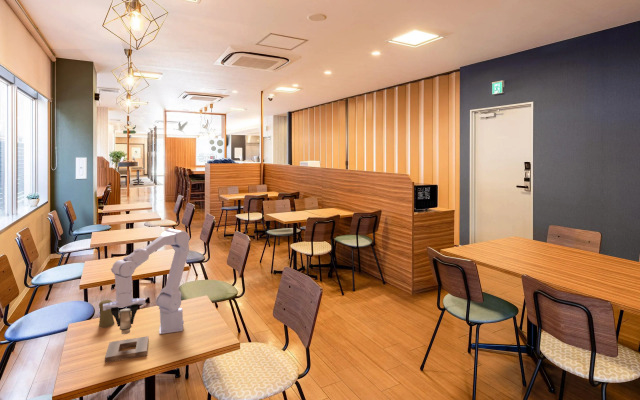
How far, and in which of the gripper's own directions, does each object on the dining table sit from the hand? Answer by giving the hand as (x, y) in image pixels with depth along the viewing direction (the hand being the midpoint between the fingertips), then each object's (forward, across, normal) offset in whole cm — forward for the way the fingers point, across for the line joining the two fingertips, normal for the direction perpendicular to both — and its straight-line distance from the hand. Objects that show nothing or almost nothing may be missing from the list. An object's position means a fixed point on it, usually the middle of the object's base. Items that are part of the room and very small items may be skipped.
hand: (125, 324), depth 145 cm
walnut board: (+10, 0, +3) cm, 10 cm away
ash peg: (+3, 0, 0) cm, 3 cm away
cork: (+10, +8, -26) cm, 29 cm away
